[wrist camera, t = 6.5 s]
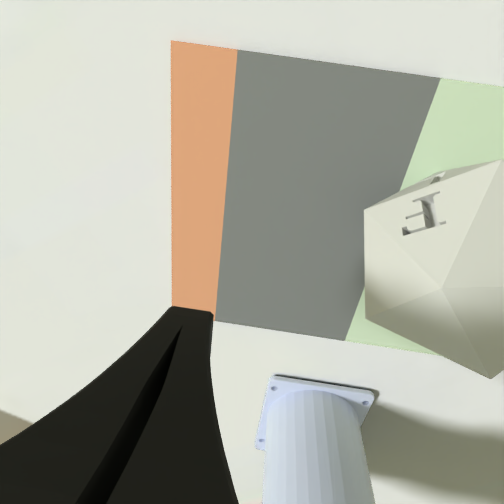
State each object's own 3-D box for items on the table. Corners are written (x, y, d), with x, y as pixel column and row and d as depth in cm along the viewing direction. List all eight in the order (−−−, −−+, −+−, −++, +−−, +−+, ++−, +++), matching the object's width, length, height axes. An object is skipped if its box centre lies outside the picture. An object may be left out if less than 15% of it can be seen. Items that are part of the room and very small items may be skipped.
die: (540, 137, 16) (561, 95, 8) (604, 310, 15) (686, 426, 8) (375, 200, 21) (298, 207, 14) (420, 329, 21) (365, 410, 13)
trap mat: (533, 368, 22) (535, 370, 22) (172, 312, 23) (172, 314, 23) (736, 119, 14) (742, 120, 14) (172, 40, 15) (170, 40, 15)
